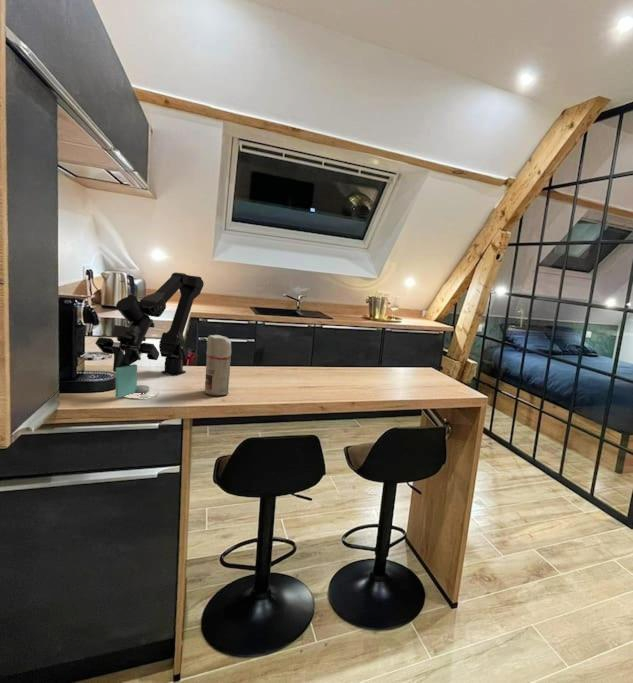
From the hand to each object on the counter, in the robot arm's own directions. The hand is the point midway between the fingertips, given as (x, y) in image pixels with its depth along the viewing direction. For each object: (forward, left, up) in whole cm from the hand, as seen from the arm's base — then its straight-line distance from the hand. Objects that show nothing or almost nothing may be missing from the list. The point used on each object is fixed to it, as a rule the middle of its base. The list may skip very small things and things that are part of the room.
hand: (116, 371), depth 122 cm
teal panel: (-4, +3, -7) cm, 9 cm away
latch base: (-7, +3, -8) cm, 11 cm away
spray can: (-23, +21, -9) cm, 32 cm away
